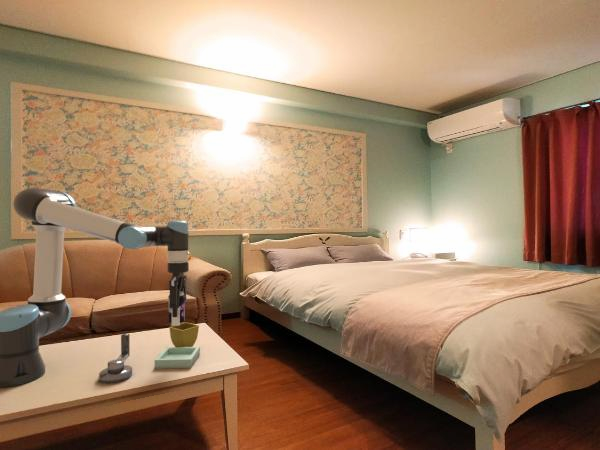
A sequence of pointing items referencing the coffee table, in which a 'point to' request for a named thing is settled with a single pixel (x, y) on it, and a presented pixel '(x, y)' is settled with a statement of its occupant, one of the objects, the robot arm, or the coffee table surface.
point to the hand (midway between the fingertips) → (178, 322)
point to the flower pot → (184, 334)
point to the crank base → (115, 375)
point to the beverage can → (181, 306)
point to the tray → (177, 357)
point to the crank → (118, 363)
